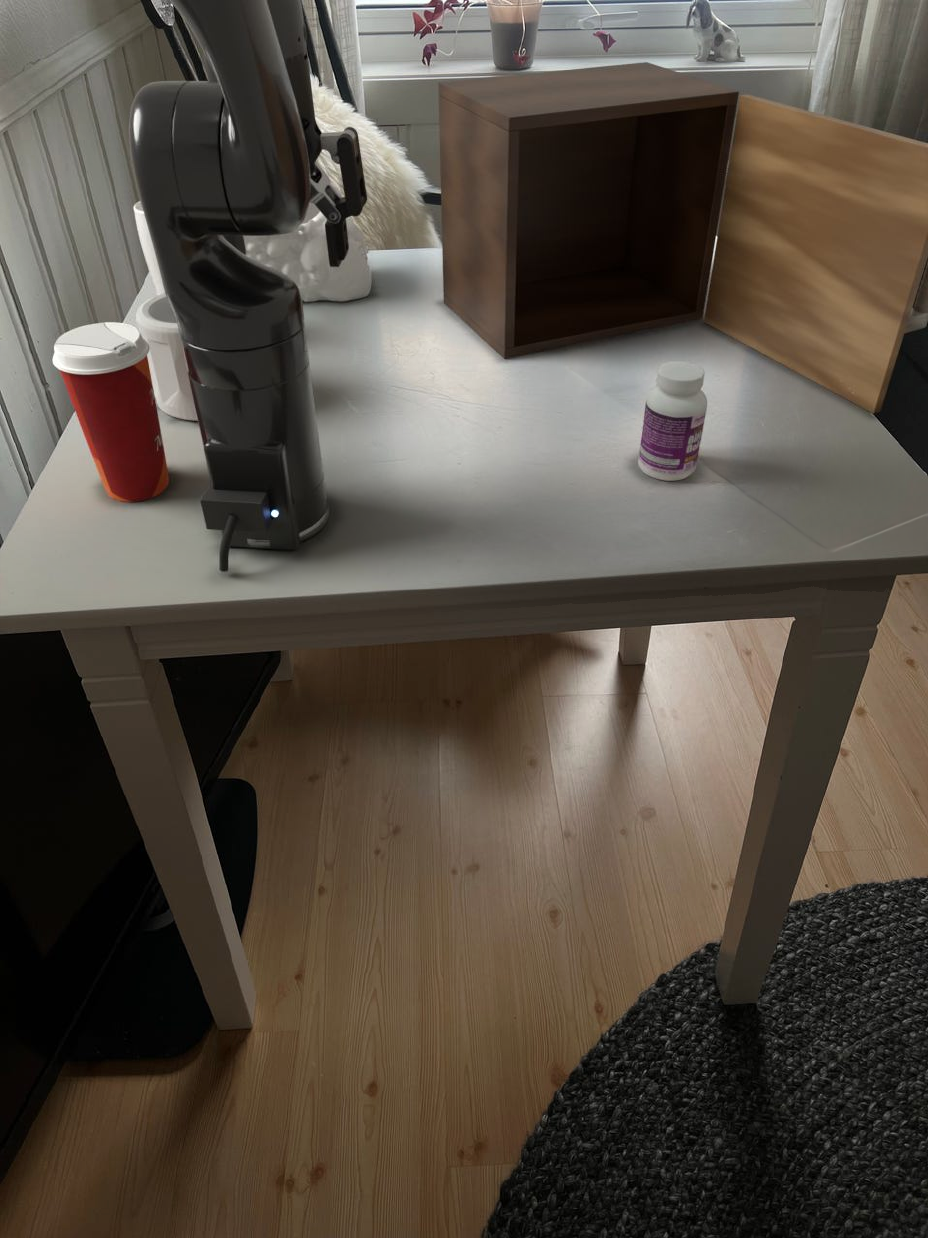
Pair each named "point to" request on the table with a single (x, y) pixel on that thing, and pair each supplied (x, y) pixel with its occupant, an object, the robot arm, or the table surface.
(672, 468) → the pill bottle
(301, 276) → the cauliflower
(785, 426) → the table surface
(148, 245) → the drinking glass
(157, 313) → the mug
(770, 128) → the cabinet door
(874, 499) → the table surface
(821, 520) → the table surface
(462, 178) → the cabinet
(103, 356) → the paper cup
